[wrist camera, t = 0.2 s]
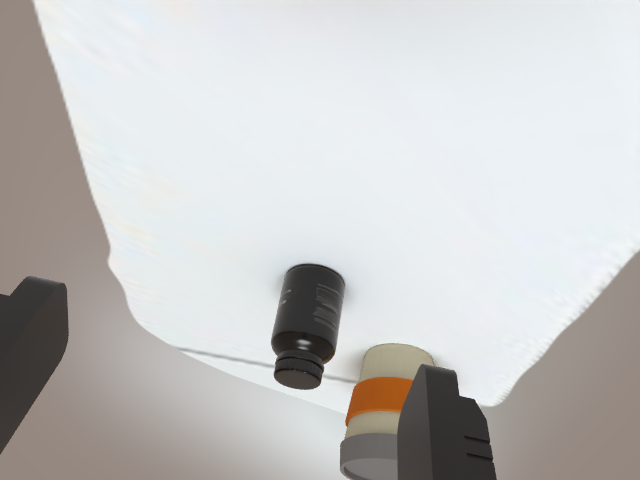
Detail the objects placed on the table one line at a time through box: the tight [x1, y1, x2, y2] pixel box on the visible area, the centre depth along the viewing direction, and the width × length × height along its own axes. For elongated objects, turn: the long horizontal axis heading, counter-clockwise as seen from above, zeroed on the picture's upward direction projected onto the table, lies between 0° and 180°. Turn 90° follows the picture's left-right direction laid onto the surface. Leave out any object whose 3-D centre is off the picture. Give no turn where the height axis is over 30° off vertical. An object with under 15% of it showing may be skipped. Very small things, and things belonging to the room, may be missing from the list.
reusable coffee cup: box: [340, 344, 434, 480], centre depth 75 cm, size 13×13×15 cm
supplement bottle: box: [271, 265, 344, 390], centre depth 64 cm, size 7×7×12 cm
